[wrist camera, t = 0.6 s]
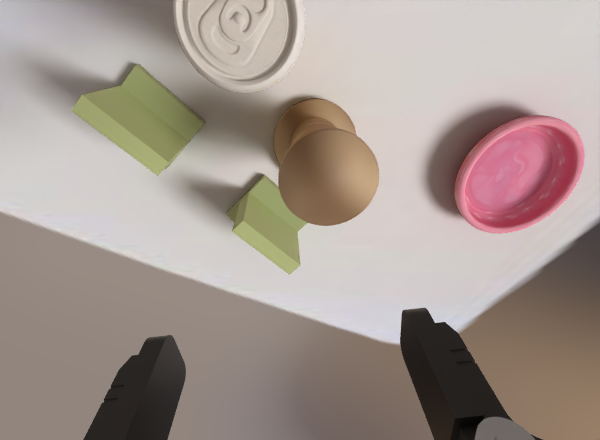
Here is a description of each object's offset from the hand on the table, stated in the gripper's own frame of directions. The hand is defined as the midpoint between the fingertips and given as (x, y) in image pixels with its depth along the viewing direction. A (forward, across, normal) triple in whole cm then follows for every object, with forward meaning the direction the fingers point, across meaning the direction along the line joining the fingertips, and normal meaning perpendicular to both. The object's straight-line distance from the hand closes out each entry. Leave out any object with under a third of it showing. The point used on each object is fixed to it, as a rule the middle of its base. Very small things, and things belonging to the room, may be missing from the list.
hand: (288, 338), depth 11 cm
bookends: (+23, +7, +1) cm, 25 cm away
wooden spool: (+24, -3, 0) cm, 24 cm away
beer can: (+24, +1, -10) cm, 26 cm away
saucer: (+24, -23, +5) cm, 34 cm away
